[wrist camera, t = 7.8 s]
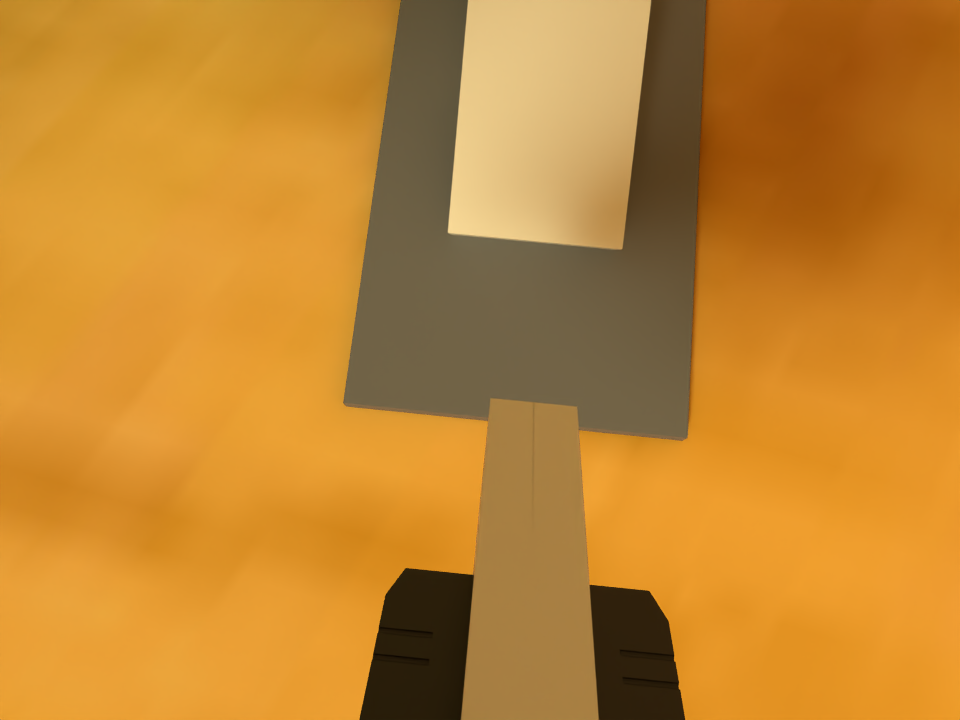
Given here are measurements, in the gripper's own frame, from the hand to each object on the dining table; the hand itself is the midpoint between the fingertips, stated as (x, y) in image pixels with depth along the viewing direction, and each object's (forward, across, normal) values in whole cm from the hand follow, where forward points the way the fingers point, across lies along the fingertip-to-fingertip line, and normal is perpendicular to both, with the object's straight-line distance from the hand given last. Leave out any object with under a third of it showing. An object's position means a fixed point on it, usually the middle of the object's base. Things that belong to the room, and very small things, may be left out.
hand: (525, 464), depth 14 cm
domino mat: (+16, 0, +3) cm, 16 cm away
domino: (+11, 0, 0) cm, 11 cm away
